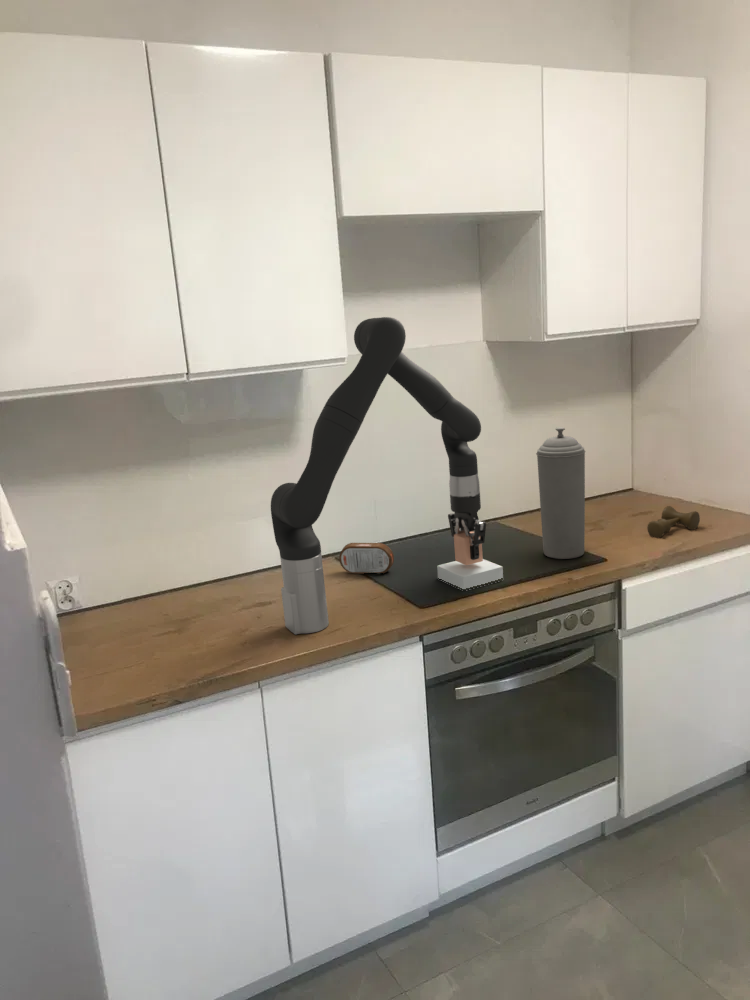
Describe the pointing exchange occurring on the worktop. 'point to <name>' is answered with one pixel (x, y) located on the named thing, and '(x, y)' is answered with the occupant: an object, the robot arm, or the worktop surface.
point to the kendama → (672, 521)
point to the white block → (469, 573)
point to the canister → (562, 496)
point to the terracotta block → (465, 549)
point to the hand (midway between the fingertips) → (468, 556)
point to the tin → (366, 558)
